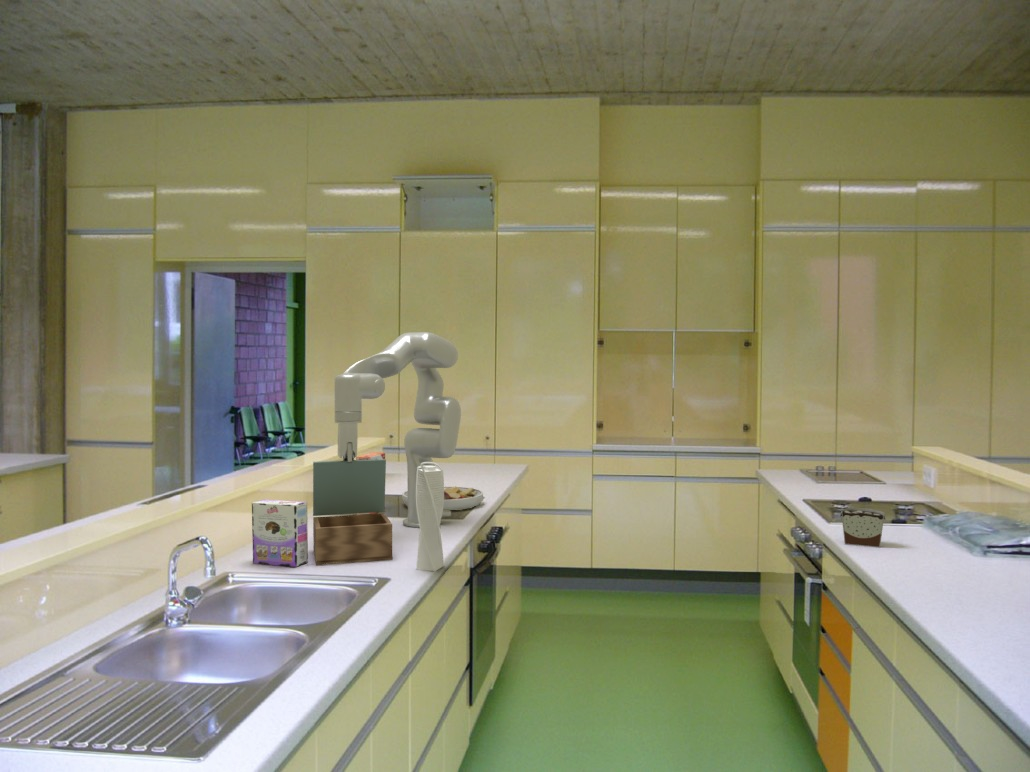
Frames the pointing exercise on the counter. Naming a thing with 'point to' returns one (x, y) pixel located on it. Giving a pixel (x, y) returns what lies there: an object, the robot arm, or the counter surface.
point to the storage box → (352, 538)
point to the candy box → (280, 532)
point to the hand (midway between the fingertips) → (348, 481)
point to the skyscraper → (429, 516)
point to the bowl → (457, 497)
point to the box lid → (348, 487)
